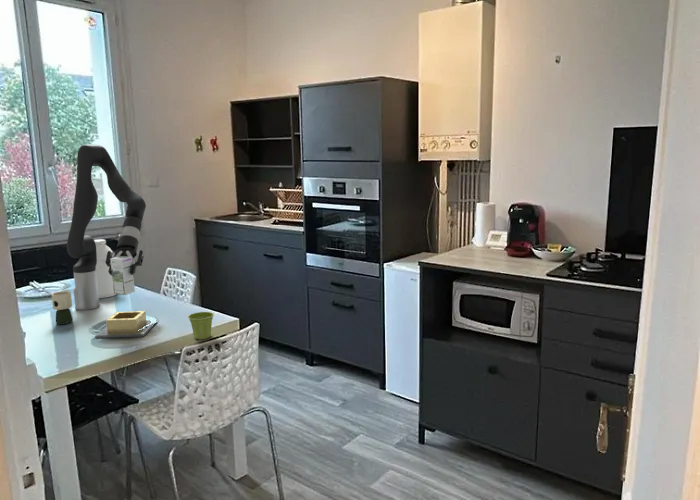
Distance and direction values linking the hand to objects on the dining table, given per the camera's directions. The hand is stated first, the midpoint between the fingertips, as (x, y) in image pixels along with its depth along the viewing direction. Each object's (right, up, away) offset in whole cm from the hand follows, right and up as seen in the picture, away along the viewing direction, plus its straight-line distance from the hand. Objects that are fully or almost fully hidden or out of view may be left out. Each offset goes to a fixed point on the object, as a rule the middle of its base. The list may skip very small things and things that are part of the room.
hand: (121, 274), depth 209 cm
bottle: (-35, -14, +62) cm, 72 cm away
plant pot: (+33, -24, -5) cm, 41 cm away
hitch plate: (0, -23, +5) cm, 23 cm away
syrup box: (0, -8, +3) cm, 8 cm away
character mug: (-30, -22, +15) cm, 40 cm away
